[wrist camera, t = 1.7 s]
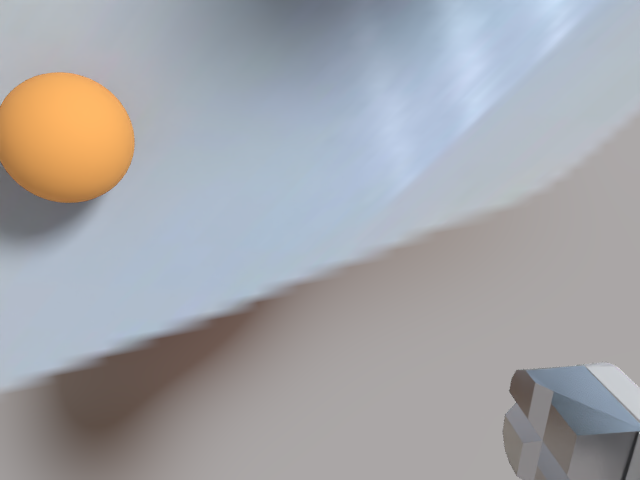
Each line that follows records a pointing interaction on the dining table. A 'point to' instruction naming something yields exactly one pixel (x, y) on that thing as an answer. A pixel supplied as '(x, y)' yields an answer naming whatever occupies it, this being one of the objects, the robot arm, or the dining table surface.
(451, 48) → the dining table surface
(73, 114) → the ball
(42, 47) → the dining table surface
